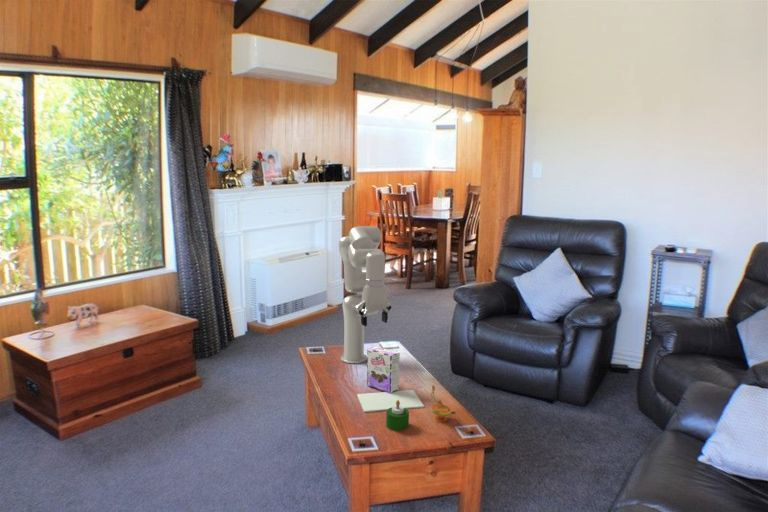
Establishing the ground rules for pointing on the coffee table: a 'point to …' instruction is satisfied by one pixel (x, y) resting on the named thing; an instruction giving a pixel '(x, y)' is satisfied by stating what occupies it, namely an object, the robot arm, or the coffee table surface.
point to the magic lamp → (440, 409)
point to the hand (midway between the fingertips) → (374, 323)
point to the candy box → (383, 369)
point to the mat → (389, 400)
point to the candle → (397, 418)
